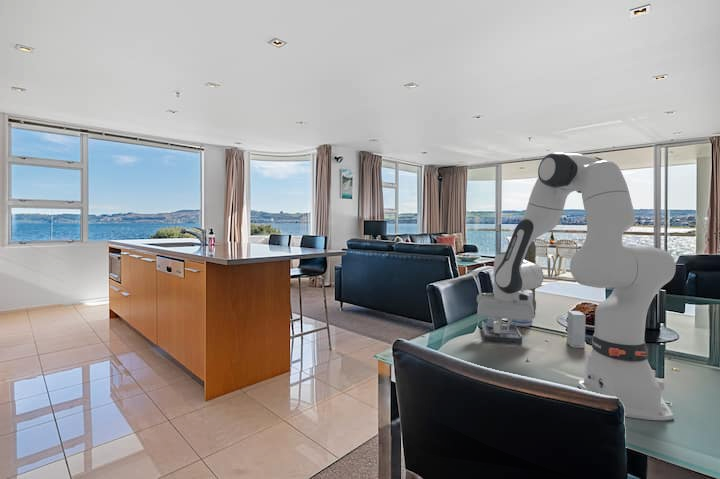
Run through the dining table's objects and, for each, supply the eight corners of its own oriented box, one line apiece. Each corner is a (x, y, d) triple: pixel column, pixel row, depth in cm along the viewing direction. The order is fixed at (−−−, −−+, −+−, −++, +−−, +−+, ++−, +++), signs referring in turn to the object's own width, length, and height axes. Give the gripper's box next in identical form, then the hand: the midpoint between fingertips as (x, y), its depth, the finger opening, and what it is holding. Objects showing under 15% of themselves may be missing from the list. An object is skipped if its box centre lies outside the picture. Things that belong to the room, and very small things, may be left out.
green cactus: (517, 316, 176) (519, 241, 174) (513, 309, 188) (515, 239, 185) (538, 317, 174) (540, 241, 172) (532, 310, 186) (534, 239, 183)
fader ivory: (499, 333, 143) (500, 323, 143) (494, 333, 144) (494, 323, 144) (498, 330, 147) (499, 321, 147) (493, 330, 147) (493, 320, 147)
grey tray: (522, 343, 139) (522, 337, 138) (484, 341, 142) (485, 334, 142) (514, 329, 156) (514, 323, 156) (481, 327, 159) (481, 321, 159)
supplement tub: (504, 321, 168) (504, 288, 167) (523, 320, 169) (524, 287, 168) (516, 327, 158) (517, 293, 157) (537, 326, 160) (537, 292, 159)
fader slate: (493, 327, 151) (493, 317, 151) (488, 326, 152) (488, 317, 152) (492, 324, 155) (492, 315, 155) (487, 324, 155) (487, 315, 155)
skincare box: (585, 348, 134) (586, 315, 133) (571, 347, 134) (573, 314, 134) (578, 342, 139) (579, 310, 139) (566, 342, 140) (567, 310, 140)
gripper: (477, 294, 143) (476, 330, 144) (535, 296, 138) (534, 333, 139) (476, 290, 149) (476, 325, 150) (532, 293, 144) (531, 328, 145)
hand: (504, 329), depth 145 cm, fingers closed
